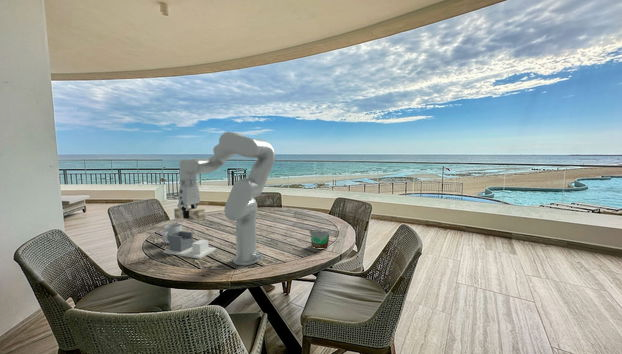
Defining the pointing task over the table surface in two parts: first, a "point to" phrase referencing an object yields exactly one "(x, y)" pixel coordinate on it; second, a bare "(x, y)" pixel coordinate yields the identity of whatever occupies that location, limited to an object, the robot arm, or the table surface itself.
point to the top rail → (190, 214)
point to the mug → (170, 231)
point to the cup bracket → (187, 245)
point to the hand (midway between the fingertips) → (189, 216)
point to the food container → (319, 238)
